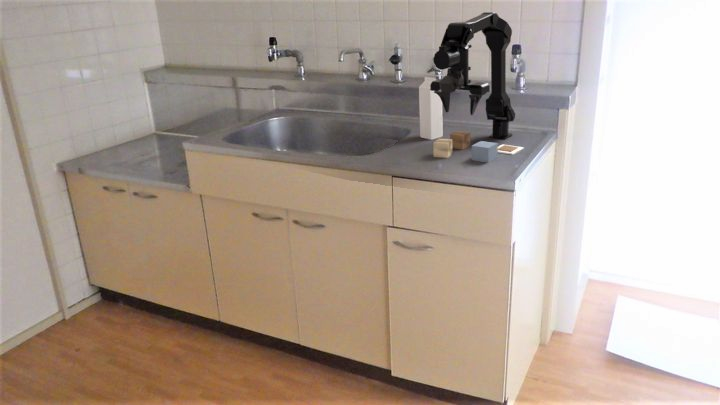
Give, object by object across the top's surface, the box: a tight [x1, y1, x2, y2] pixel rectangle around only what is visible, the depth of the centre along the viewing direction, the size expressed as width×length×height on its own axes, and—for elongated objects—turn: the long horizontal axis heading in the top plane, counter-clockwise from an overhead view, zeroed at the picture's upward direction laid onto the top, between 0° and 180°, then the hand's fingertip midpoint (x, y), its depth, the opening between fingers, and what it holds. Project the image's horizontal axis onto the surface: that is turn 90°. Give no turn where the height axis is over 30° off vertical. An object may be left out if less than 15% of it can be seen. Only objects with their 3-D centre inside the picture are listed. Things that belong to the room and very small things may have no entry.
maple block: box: [432, 138, 453, 159], centre depth 201 cm, size 5×5×5 cm
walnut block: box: [449, 130, 471, 150], centre depth 208 cm, size 5×5×5 cm
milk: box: [418, 76, 444, 141], centre depth 219 cm, size 6×6×22 cm
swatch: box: [497, 144, 525, 156], centre depth 202 cm, size 8×8×1 cm
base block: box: [471, 140, 499, 163], centre depth 194 cm, size 6×6×5 cm
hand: (459, 113), depth 193 cm, fingers open, 9 cm apart
